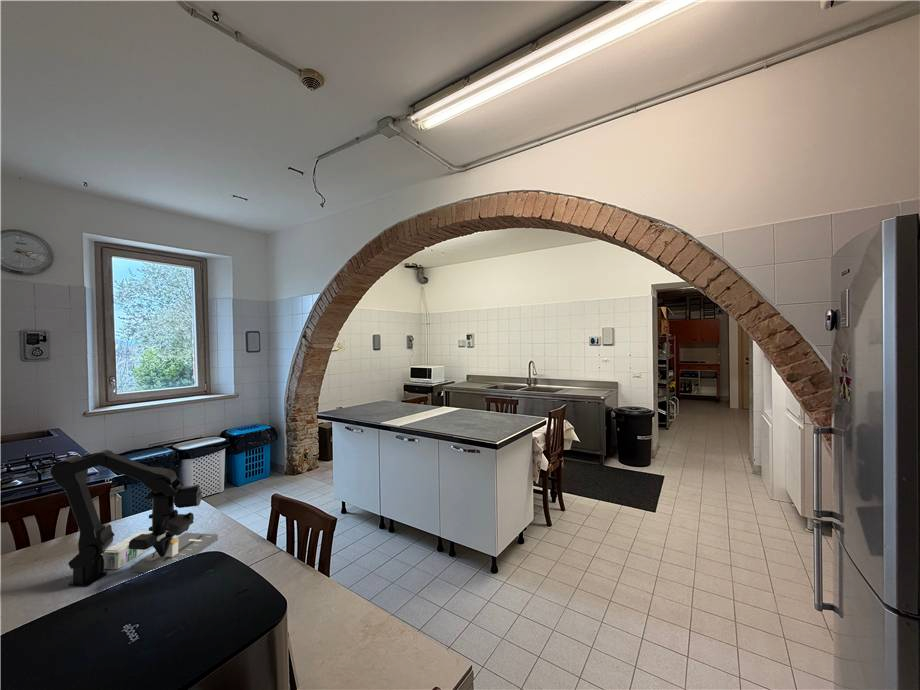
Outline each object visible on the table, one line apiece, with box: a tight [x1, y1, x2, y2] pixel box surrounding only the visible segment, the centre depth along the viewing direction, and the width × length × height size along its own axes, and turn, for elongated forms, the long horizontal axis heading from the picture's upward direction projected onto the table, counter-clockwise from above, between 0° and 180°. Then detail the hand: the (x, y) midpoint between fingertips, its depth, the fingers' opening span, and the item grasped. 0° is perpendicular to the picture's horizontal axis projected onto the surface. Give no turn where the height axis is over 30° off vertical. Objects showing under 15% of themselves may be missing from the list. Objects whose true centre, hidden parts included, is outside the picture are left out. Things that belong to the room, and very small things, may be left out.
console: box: [130, 532, 219, 574], centre depth 133 cm, size 22×13×3 cm, turn 175°
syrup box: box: [102, 530, 154, 570], centre depth 131 cm, size 6×6×14 cm
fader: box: [164, 538, 179, 557], centre depth 128 cm, size 3×3×5 cm
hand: (162, 556), depth 125 cm, fingers closed
